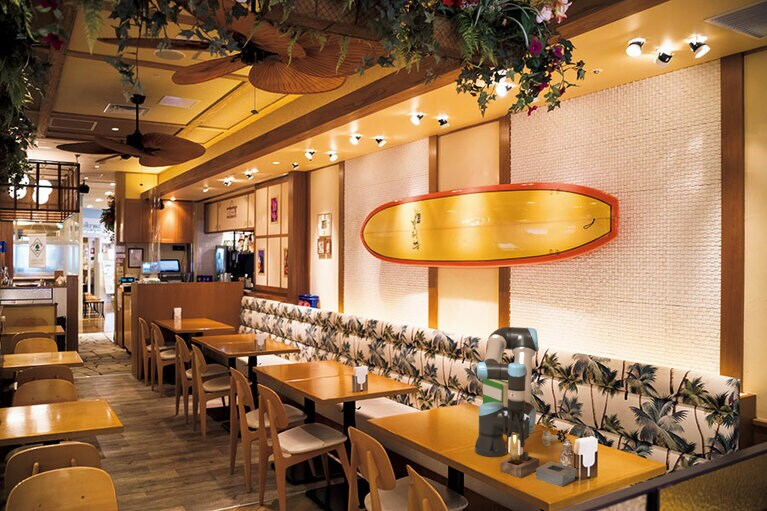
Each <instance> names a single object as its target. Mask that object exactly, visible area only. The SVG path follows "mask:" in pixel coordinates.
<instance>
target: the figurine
mask: <svg viewBox="0 0 767 511" xmlns="http://www.w3.org/2000/svg"><path fill="white" fill-rule="evenodd" d="M562 446H563V447H562V448H563V449H562V450H561V451H560V455H559V463H558V464H561V465H565V466H568V467H572V468H573V453H575V452H574V451H573V443H572V442H571V439H566V440H565V442H563V445H562Z"/></svg>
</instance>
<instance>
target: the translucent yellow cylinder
mask: <svg viewBox="0 0 767 511" xmlns="http://www.w3.org/2000/svg"><path fill="white" fill-rule="evenodd" d="M519 439H520V436H519V433H513V432H512V433H511V452H510V457H511V464H514V465H517V466H518V465H520V455H518V440H519Z"/></svg>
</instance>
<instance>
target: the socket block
mask: <svg viewBox="0 0 767 511" xmlns="http://www.w3.org/2000/svg"><path fill="white" fill-rule="evenodd" d="M575 476H577V467H576V468H572V467H568V466H565V465H561V464H559V463H557V462H553V461H548V462H546V463H544V464H542V465H539V467H538V468H536V471H535V479H536V480H538V481H542V482H545V483H549V484H551V485H554V486H555V485H556V486H559V487H565V486H567V485H568V484H570V483H571V482H573V481H575V480H576V479H575Z"/></svg>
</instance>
